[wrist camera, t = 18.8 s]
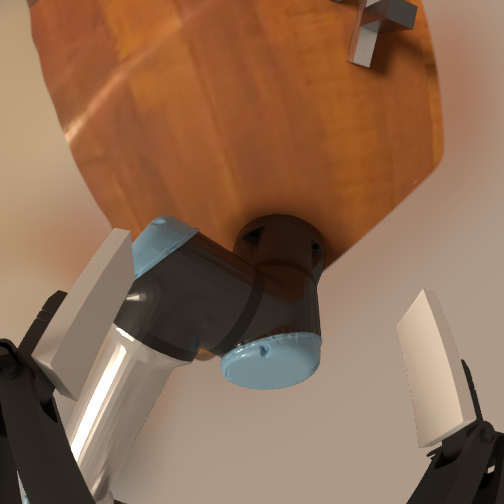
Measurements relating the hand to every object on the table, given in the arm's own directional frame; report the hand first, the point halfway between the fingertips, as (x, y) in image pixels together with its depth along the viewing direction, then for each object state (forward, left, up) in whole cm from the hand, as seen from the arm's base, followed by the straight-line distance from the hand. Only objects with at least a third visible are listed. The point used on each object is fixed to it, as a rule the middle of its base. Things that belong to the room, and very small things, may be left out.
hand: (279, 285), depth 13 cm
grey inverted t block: (+16, -7, -31) cm, 35 cm away
